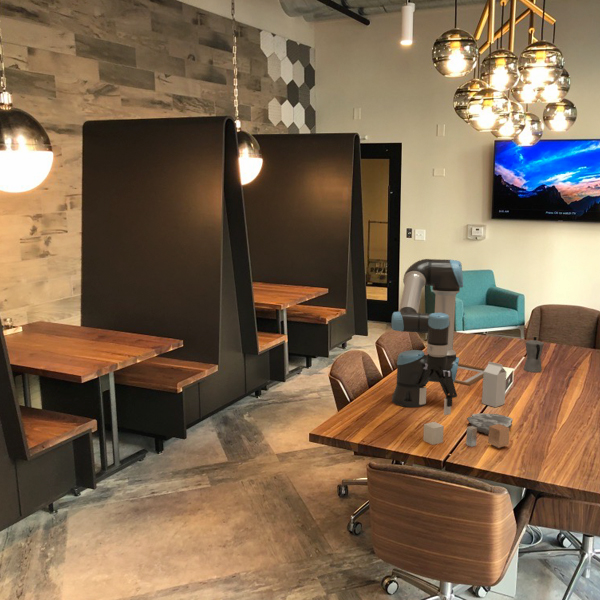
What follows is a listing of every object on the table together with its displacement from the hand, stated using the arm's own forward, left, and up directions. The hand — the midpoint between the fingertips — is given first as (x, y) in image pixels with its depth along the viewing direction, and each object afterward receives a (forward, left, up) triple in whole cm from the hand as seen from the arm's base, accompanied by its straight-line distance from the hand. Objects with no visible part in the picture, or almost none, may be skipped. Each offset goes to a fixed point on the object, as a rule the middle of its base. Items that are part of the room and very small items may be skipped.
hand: (434, 409), depth 252 cm
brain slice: (0, +30, -14) cm, 33 cm away
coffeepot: (-46, +112, -13) cm, 122 cm away
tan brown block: (+16, +18, -13) cm, 27 cm away
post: (+10, +10, -13) cm, 19 cm away
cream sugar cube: (0, 0, -13) cm, 13 cm away
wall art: (-67, +71, -14) cm, 99 cm away
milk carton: (-19, +53, -13) cm, 58 cm away
